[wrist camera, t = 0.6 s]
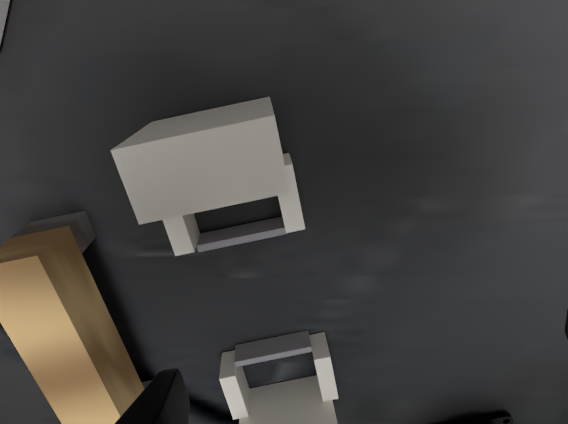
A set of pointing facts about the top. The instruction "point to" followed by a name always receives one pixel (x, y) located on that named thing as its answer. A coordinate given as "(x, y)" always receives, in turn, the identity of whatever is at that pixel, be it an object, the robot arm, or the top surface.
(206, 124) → the stepped white cradle
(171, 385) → the robot arm
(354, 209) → the top surface
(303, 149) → the top surface
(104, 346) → the rail
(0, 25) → the cup
